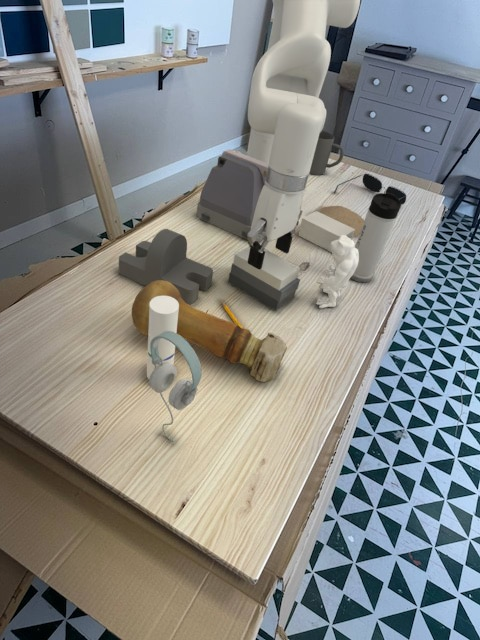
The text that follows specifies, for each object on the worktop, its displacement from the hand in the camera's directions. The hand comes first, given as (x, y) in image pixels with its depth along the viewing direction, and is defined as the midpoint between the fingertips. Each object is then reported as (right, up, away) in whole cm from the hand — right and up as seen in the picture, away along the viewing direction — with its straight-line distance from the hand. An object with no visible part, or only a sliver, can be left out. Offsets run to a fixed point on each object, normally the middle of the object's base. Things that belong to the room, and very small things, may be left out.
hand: (268, 258), depth 95 cm
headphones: (-17, -30, -27) cm, 44 cm away
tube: (-19, -22, -17) cm, 34 cm away
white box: (-1, -2, +2) cm, 3 cm away
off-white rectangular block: (+16, +8, +27) cm, 32 cm away
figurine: (+13, -8, +7) cm, 17 cm away
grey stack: (-1, -6, +6) cm, 8 cm away
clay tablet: (+22, +15, +37) cm, 45 cm away
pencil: (-5, -15, -6) cm, 17 cm away
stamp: (-12, -18, -11) cm, 24 cm away
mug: (+21, +38, +64) cm, 77 cm away
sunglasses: (+35, +25, +52) cm, 67 cm away
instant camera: (-6, +14, +29) cm, 33 cm away
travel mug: (+23, -2, +17) cm, 28 cm away
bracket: (-22, -4, +4) cm, 22 cm away
